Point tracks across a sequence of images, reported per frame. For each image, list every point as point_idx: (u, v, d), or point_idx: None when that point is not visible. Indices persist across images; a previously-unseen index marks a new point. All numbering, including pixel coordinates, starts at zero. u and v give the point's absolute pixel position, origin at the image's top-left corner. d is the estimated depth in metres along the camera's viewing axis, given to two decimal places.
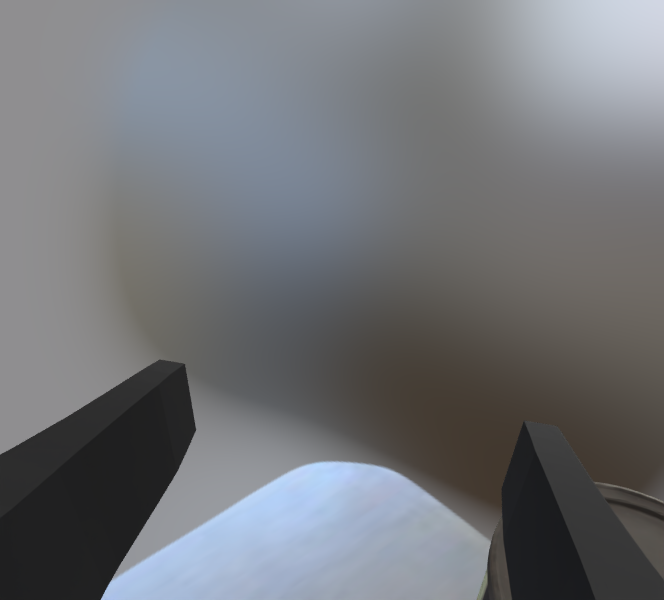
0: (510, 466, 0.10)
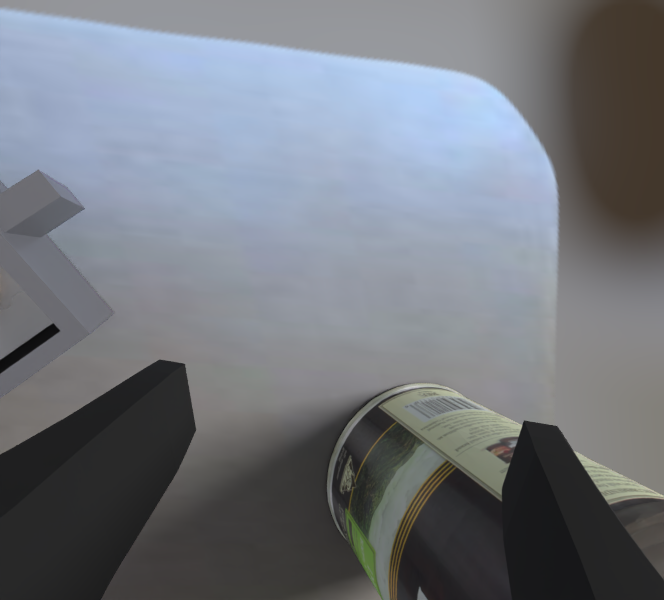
0: (510, 466, 0.10)
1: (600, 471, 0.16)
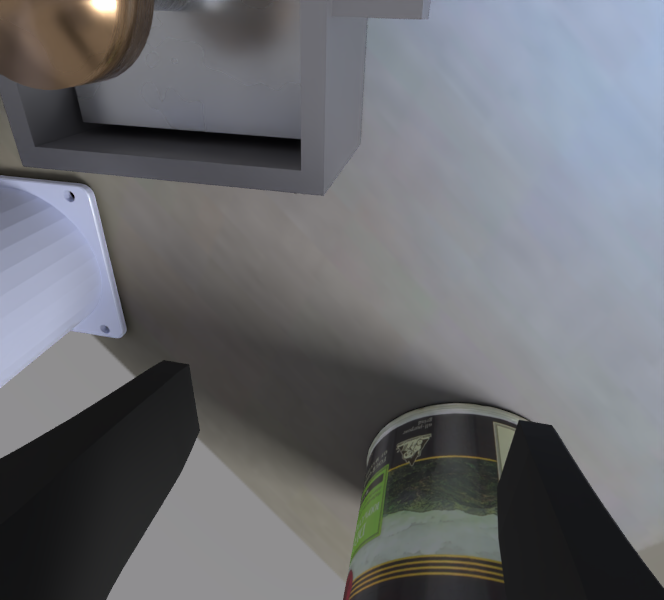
0: (505, 465, 0.10)
1: None
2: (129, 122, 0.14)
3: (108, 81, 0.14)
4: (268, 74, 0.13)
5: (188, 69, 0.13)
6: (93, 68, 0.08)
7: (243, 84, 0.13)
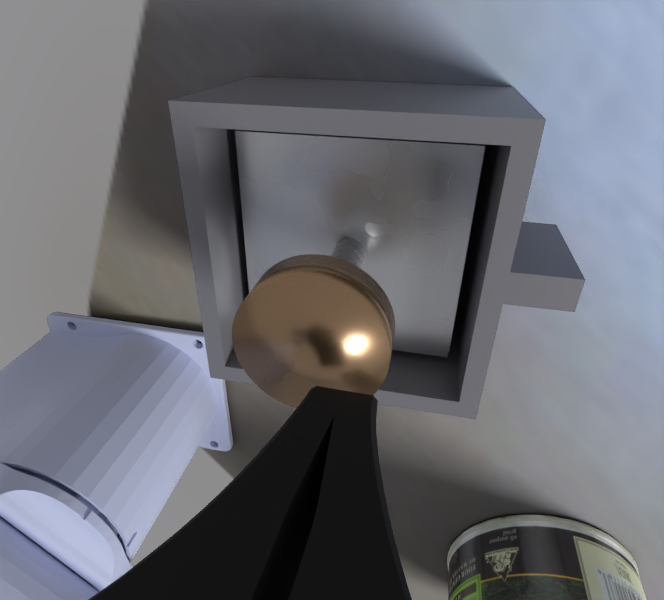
0: None
1: None
2: None
3: None
4: (424, 313, 0.15)
5: None
6: None
7: (401, 318, 0.16)
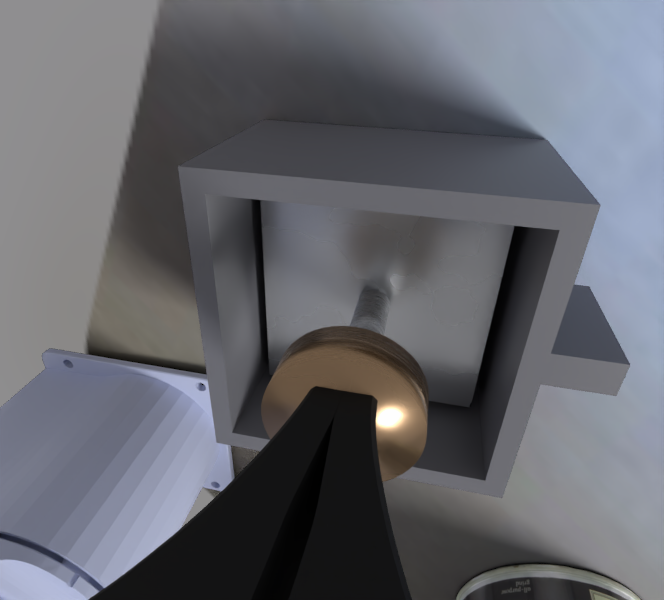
0: None
1: None
2: None
3: None
4: (448, 364, 0.15)
5: None
6: (386, 479, 0.11)
7: (424, 368, 0.15)
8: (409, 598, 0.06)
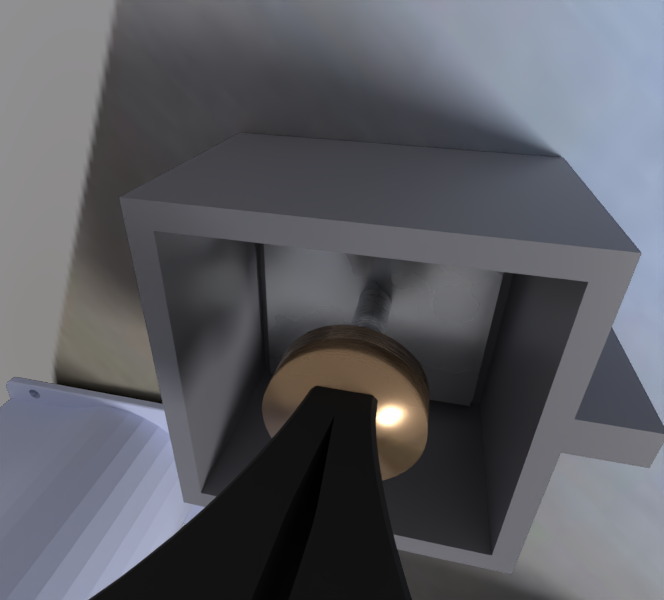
0: None
1: None
2: None
3: None
4: (449, 363, 0.15)
5: None
6: (386, 477, 0.11)
7: (425, 367, 0.15)
8: (409, 598, 0.06)
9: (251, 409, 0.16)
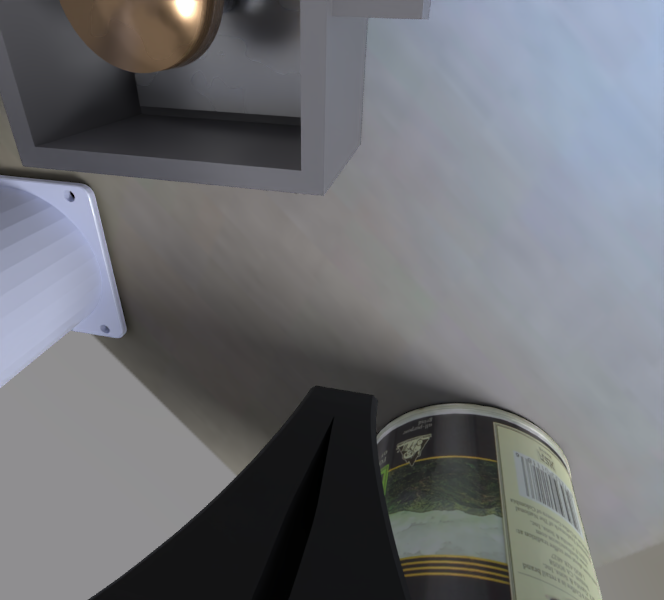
0: None
1: None
2: (180, 106, 0.17)
3: (164, 71, 0.16)
4: (300, 64, 0.15)
5: (232, 60, 0.16)
6: (180, 56, 0.11)
7: (278, 73, 0.16)
8: (409, 598, 0.06)
9: (113, 125, 0.16)
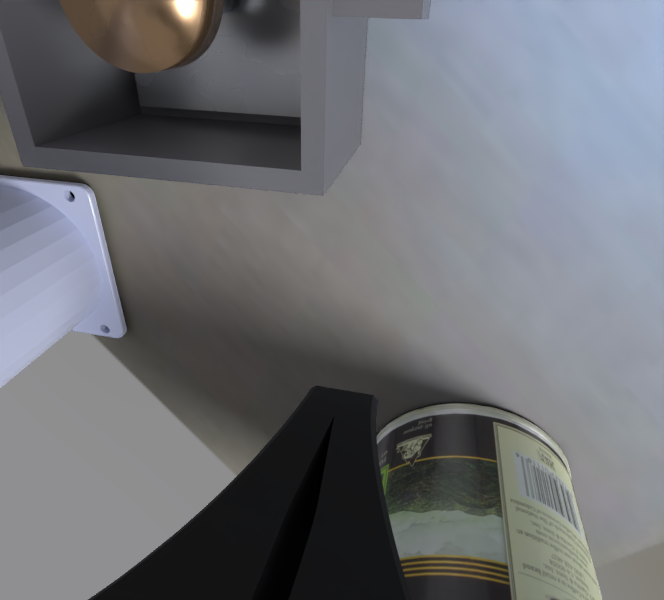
0: None
1: None
2: (180, 106, 0.17)
3: (164, 71, 0.16)
4: (300, 64, 0.15)
5: (232, 60, 0.16)
6: (180, 56, 0.11)
7: (278, 73, 0.16)
8: (409, 598, 0.06)
9: (113, 125, 0.16)
